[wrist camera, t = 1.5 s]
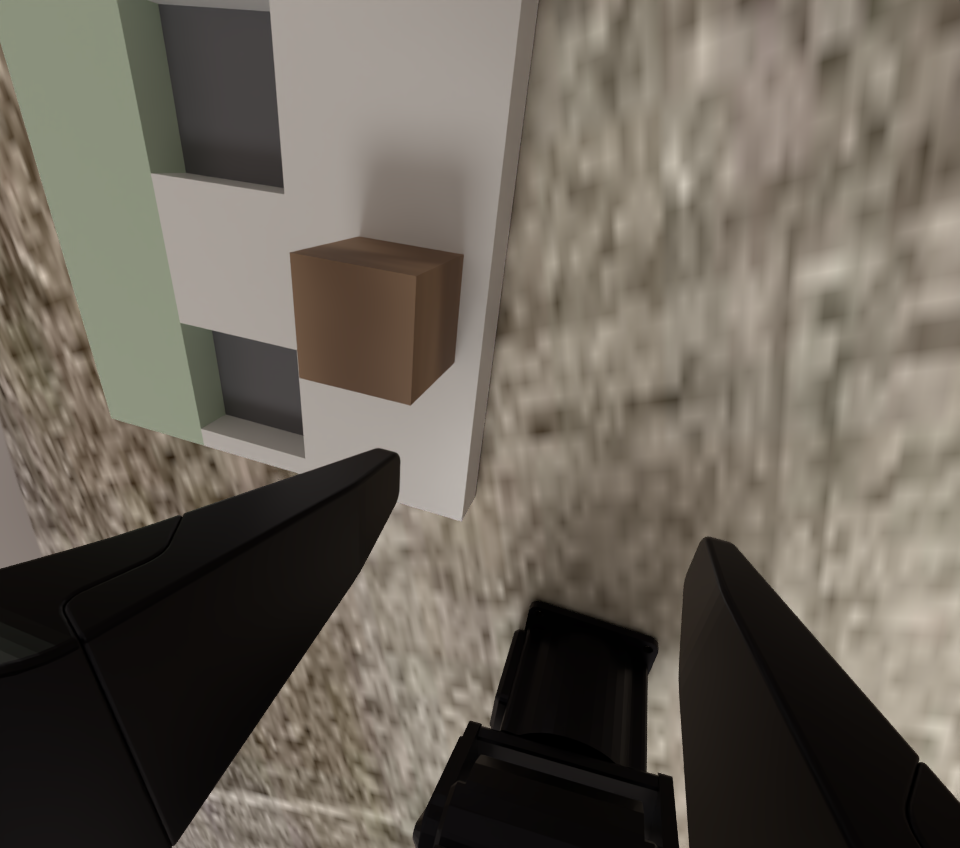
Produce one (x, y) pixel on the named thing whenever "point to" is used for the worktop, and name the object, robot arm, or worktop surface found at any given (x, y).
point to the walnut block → (376, 315)
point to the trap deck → (274, 203)
